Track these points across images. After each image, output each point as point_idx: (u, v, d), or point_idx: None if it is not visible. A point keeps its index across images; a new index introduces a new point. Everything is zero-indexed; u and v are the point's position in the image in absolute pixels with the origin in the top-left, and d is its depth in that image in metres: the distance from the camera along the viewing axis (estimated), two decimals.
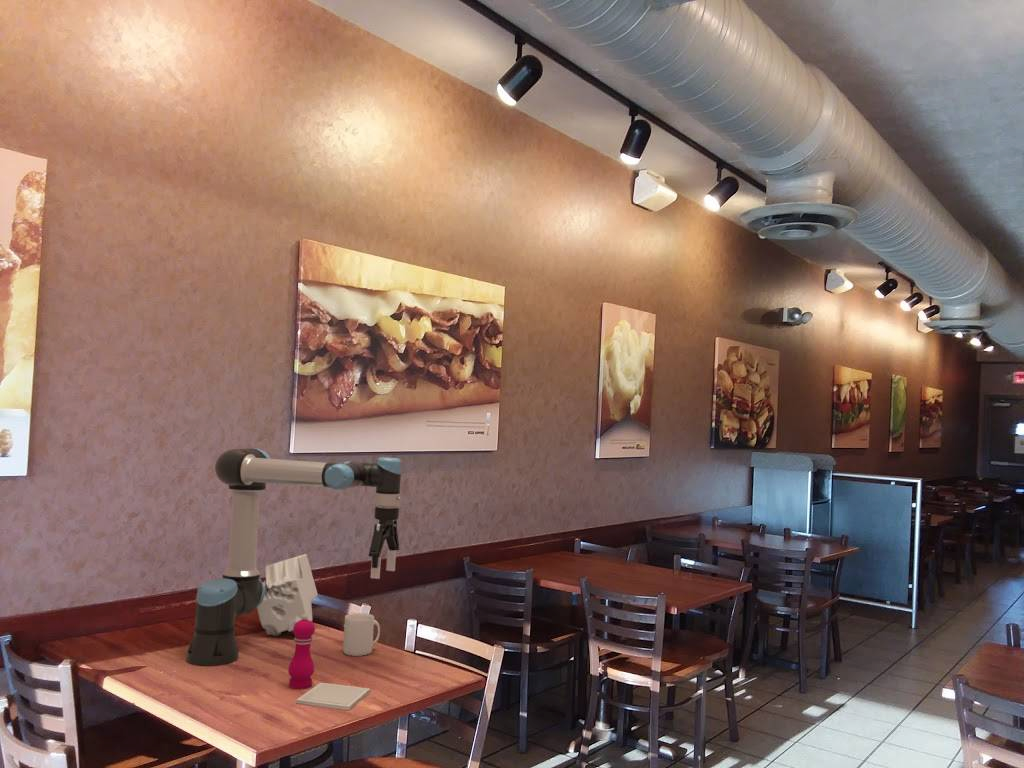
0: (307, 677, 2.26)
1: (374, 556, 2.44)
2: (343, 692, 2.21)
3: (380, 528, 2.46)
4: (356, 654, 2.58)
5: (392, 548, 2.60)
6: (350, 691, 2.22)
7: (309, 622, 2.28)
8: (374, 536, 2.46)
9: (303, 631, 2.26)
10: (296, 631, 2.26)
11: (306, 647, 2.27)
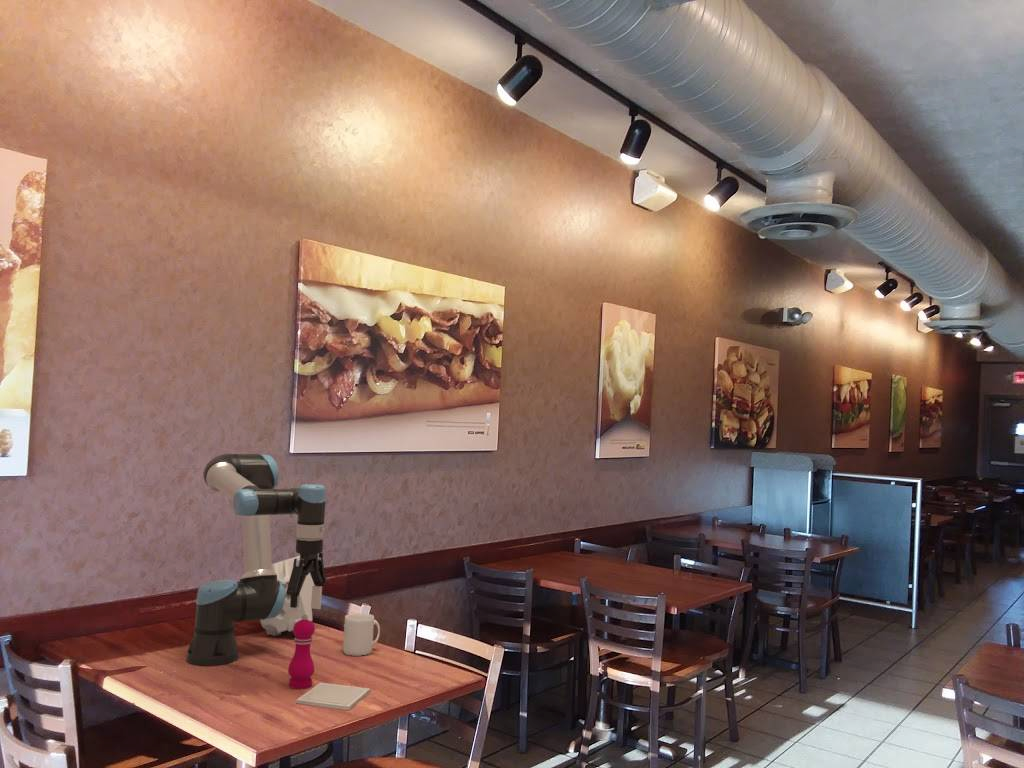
0: (307, 677, 2.26)
1: (292, 595, 2.21)
2: (343, 692, 2.21)
3: (300, 563, 2.23)
4: (356, 654, 2.58)
5: (318, 584, 2.36)
6: (350, 691, 2.22)
7: (309, 622, 2.28)
8: (293, 572, 2.22)
9: (303, 631, 2.26)
10: (296, 631, 2.26)
11: (306, 647, 2.27)
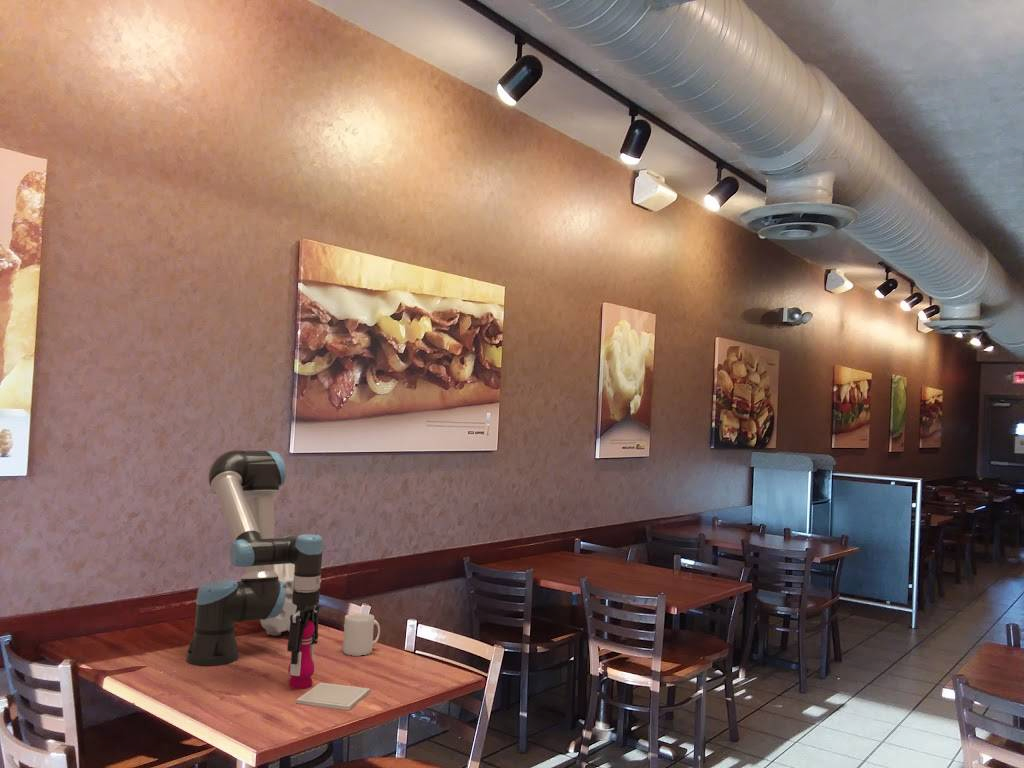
0: (307, 677, 2.26)
1: (293, 651, 2.23)
2: (343, 692, 2.21)
3: (296, 620, 2.22)
4: (356, 654, 2.58)
5: None
6: (350, 691, 2.22)
7: (309, 622, 2.28)
8: (291, 629, 2.23)
9: None
10: None
11: (306, 647, 2.27)
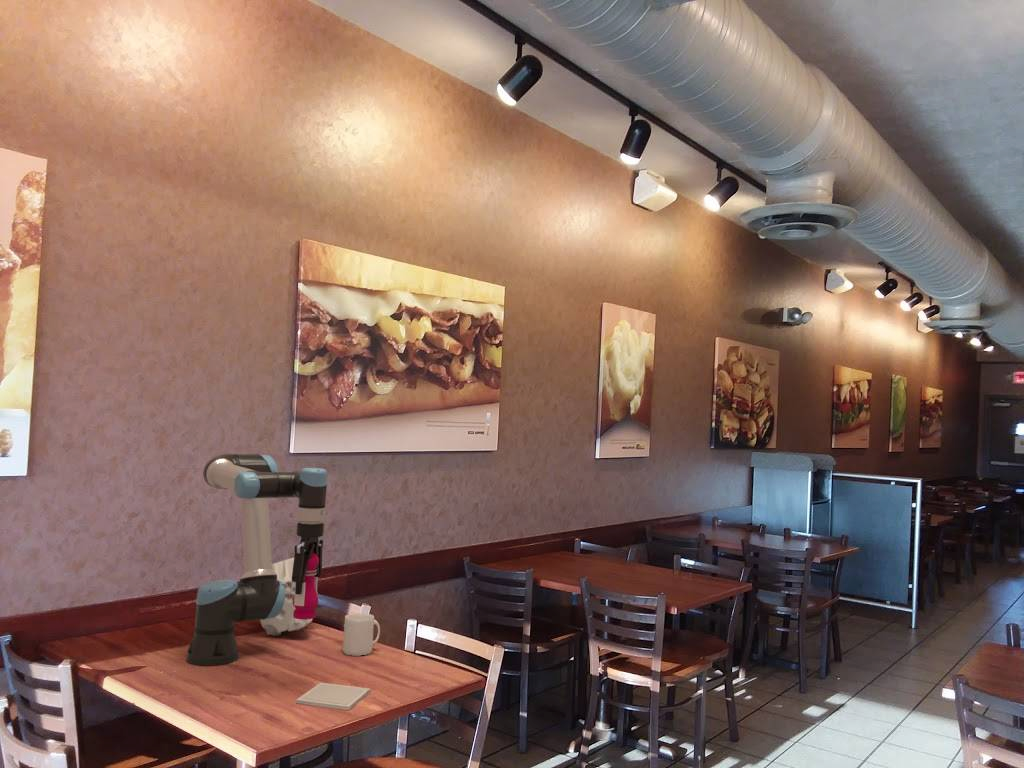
0: (311, 608, 2.28)
1: (297, 582, 2.24)
2: (343, 692, 2.21)
3: (301, 551, 2.24)
4: (356, 654, 2.58)
5: None
6: (350, 691, 2.22)
7: (313, 554, 2.29)
8: (295, 559, 2.24)
9: (308, 562, 2.27)
10: None
11: (310, 578, 2.28)
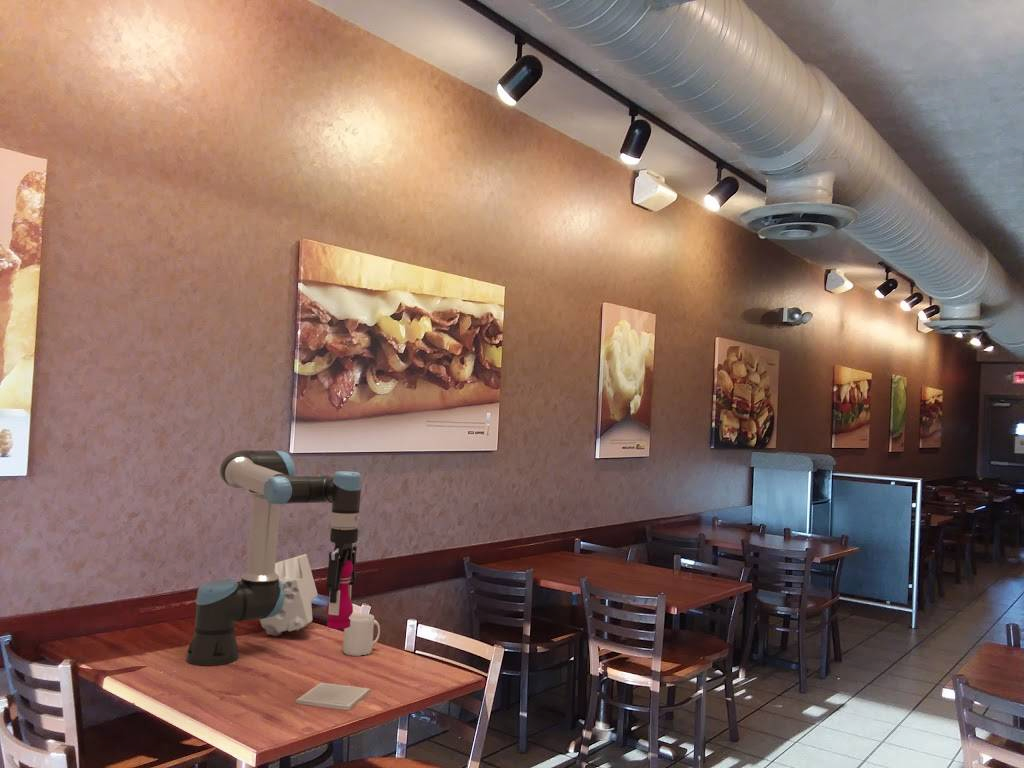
0: (346, 617, 2.19)
1: (332, 590, 2.15)
2: (343, 692, 2.21)
3: (335, 557, 2.15)
4: (356, 654, 2.58)
5: None
6: (350, 691, 2.22)
7: (348, 561, 2.21)
8: (330, 567, 2.15)
9: (342, 569, 2.18)
10: None
11: (345, 586, 2.20)
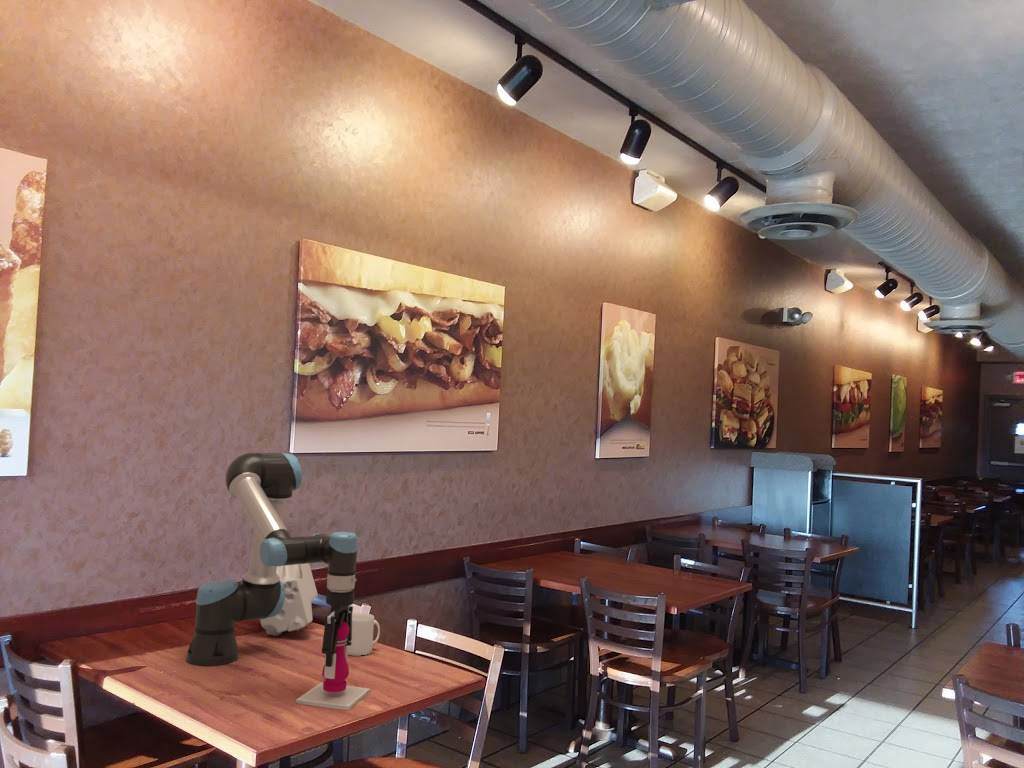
0: (342, 680, 2.18)
1: (328, 654, 2.14)
2: (343, 692, 2.21)
3: (331, 621, 2.14)
4: (356, 654, 2.58)
5: None
6: (350, 691, 2.22)
7: (344, 623, 2.20)
8: (326, 631, 2.14)
9: (338, 632, 2.18)
10: None
11: (341, 648, 2.19)
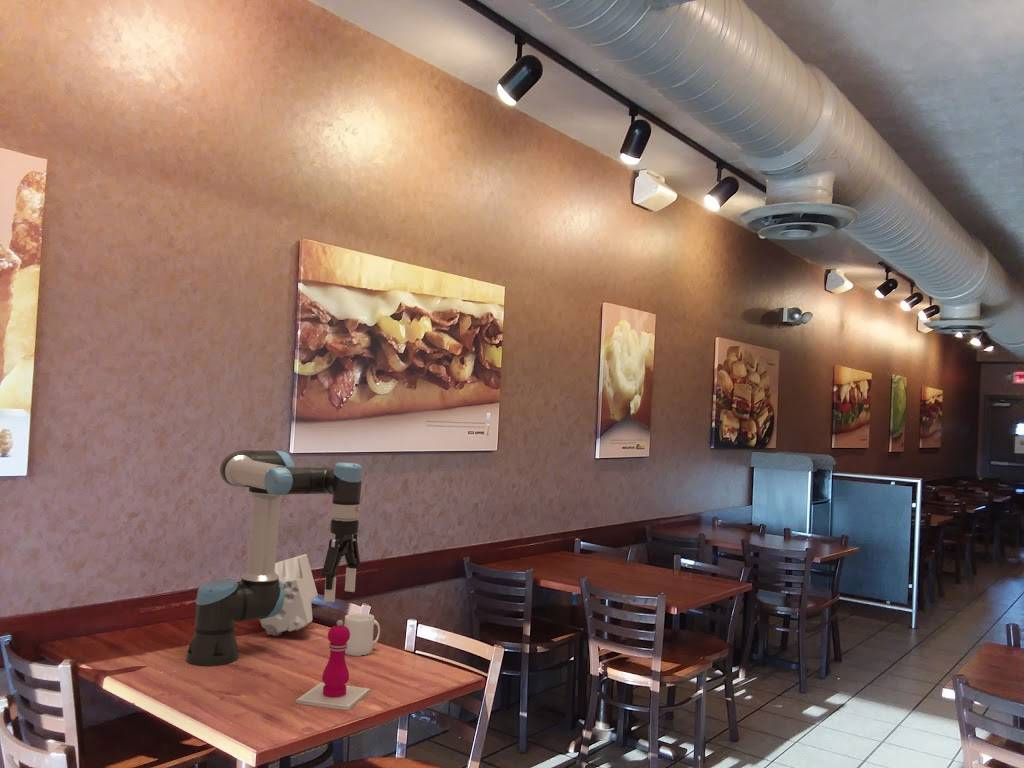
0: (342, 685, 2.18)
1: (328, 576, 2.13)
2: None
3: (335, 544, 2.15)
4: (356, 654, 2.58)
5: (352, 565, 2.28)
6: (350, 691, 2.22)
7: (344, 628, 2.20)
8: (328, 553, 2.14)
9: (339, 637, 2.17)
10: (331, 637, 2.18)
11: (341, 653, 2.19)
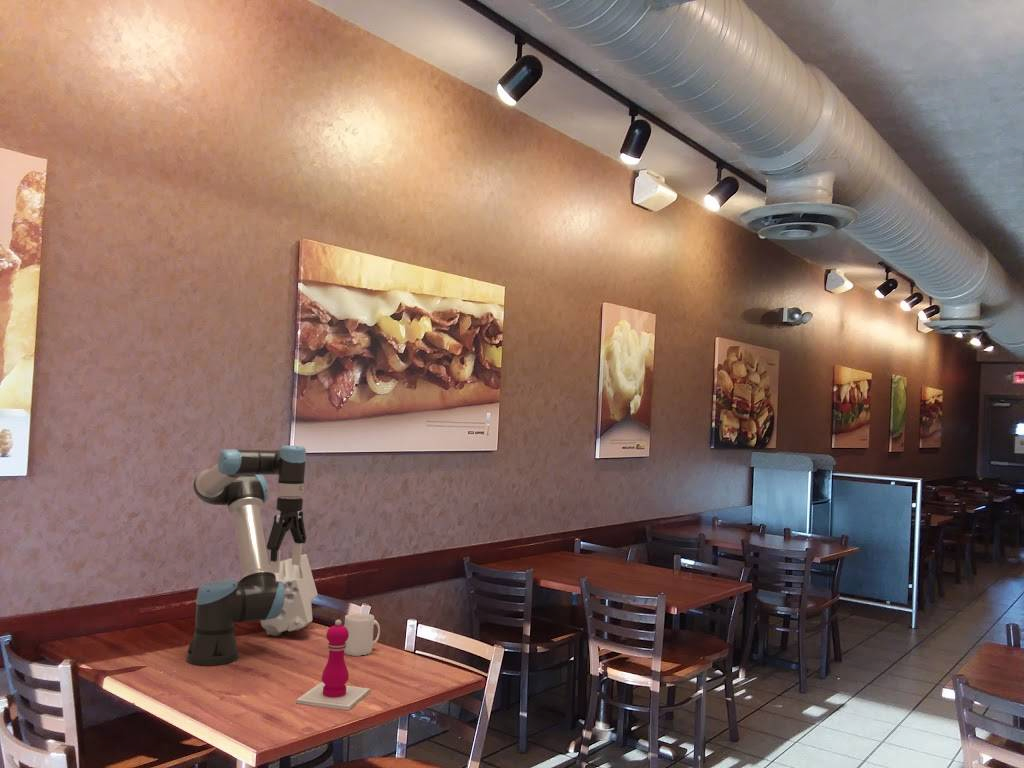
0: (341, 685, 2.18)
1: (272, 549, 2.31)
2: None
3: (280, 519, 2.34)
4: (356, 654, 2.58)
5: (298, 541, 2.47)
6: (350, 691, 2.22)
7: (343, 627, 2.20)
8: (273, 528, 2.33)
9: (337, 637, 2.18)
10: (330, 636, 2.18)
11: (340, 653, 2.19)
